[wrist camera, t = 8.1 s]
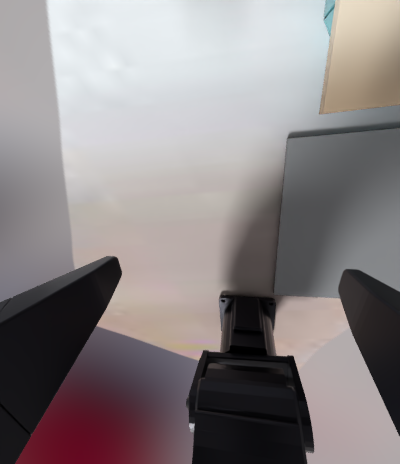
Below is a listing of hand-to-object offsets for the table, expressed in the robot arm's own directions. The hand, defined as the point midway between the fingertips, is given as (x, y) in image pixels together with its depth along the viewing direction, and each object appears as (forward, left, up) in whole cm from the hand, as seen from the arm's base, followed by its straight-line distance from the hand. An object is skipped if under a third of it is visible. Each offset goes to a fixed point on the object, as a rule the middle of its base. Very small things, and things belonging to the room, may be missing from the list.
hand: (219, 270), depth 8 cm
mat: (-4, -12, -12) cm, 18 cm away
